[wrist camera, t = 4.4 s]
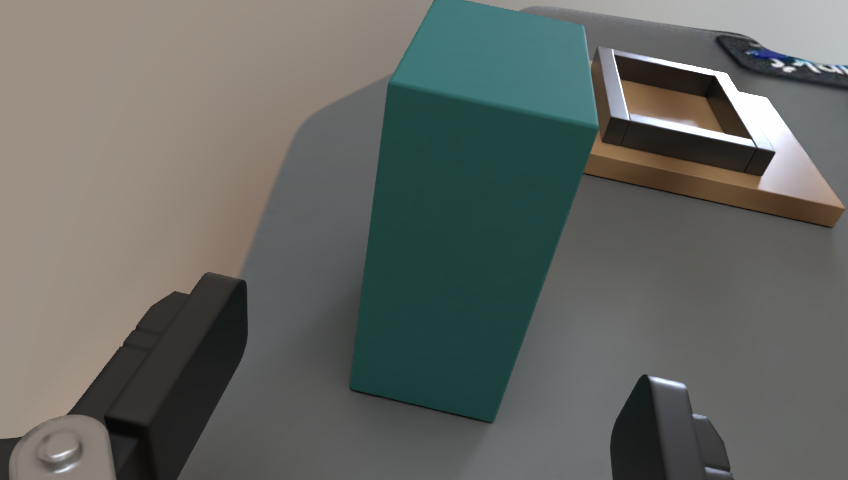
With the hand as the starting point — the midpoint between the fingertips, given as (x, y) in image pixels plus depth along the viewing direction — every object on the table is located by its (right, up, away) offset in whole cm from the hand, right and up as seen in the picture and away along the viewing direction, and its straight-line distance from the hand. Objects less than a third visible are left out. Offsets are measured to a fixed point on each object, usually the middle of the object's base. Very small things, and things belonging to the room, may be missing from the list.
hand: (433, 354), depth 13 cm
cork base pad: (+14, +9, +25) cm, 30 cm away
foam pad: (0, -1, +9) cm, 9 cm away
